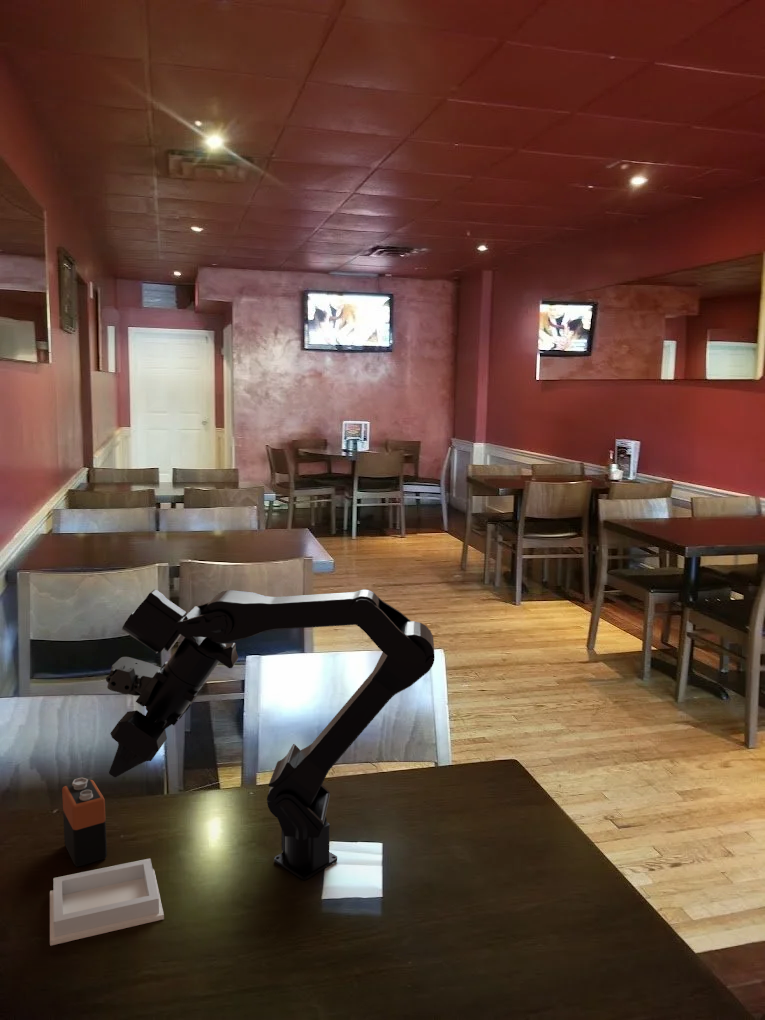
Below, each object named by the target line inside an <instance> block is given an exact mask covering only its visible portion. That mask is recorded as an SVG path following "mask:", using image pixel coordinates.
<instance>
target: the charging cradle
mask: <svg viewBox="0 0 765 1020" xmlns="http://www.w3.org/2000/svg"><path fill="white" fill-rule="evenodd" d="M52 881H53V886H52V887H53V890H49V945H50V946H51V947H52V946H55V945H58V944H64V943H68V942H71V941H75V940H79V939H85V938H89V937H93V936H97V935H102V934H106V933H109V932H114V931H118V930H123V929H126V928H132V927H136V926H139V925H144V924H149V923H154V922H157V921H161V920H165V914H164V909H163V905H162V901H161V895H160V890H159V885H158V881H157V877H156V872H155V868H153V865H152V859H151V858H146V859H145V858H144V859H141V860H136V861H131V862H130V861H129V862H125V863H120V864H115V865H112V866H106V867H102V868H101V867H100V868H97V869H91V870H86V871H81V872H77V873H72V874H67V875H63V876H58V877H53V880H52Z"/></svg>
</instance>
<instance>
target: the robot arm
mask: <svg viewBox="0 0 765 1020" xmlns="http://www.w3.org/2000/svg"><path fill="white" fill-rule="evenodd" d="M354 625H355V626H357V627H359V628H360V629H361V630H362V631H363V632H364V633H365V634H366V635H367V636H368V637H369V639H370V640H371V641H372V642H373V643H374V644H375V645H376V646H377V647H378V649H379V651H382V652H381V654H380V656H379V659H378V661H377V663H376V665H375V666H374V669H373V670H372V672H371V673H369V675H368V676H367V678H366V679H365V680H364V681H363V683H362V684H361V685H360V686H359V687H358V689H357V690H356V691H355V692H353V694H352V695H351V697H350V698H349V699H348V700H347V701H346V702H345V704H344V705H343V706H342V707H341V708H340V710H339V711H338V712H337V713H336V715H334V717H333V718H332V719H331V720H330V722H329V723H328V724H326V726H325V727H324V729H322V731H321V732H320V733H319V734H318V735H317V737H316V738H315V739H314V740H313V742H312V743H310V744H309V745H308V746H306V747H304V748H302V749H300V748H299V747H298V746H297V745H296V744H295V743H293V744H291V745H292V746H291V747H290V749H289V751H288V752H287V754H286V755H285V757H283V758H282V759H279V760H278V761H277V762H276V764H275V767H274V768H273V772H272V775H271V778H270V780H269V782H268V787H269V791H268V794H267V797H266V801H267V807H268V809H269V812H270V813H271V814H272V815H273V817H275V818H277V820H278V823H279V826H280V828H281V851H282V852H281V853H279V854H278V855H275V856H274V858H273V862H274V863H276V864H277V865H278V866H280V867H282V868H283V869H285V870H286V871H288V872H290V873H291V874H293V875H294V876H296V877H298V878H299V879H301V880H302V881H303V880H305V881H306V880H308V879H309V878H311V877H312V876H315V875H316V874H318V873H319V872H321V871H323V870H324V869H326V868H328V867H329V866H331V865H333V864H334V862H335V863H337V861H338V856H337V855H335V854H334V853H332V852H330V829H331V828H330V826H331V825H330V824H331V823H330V822H328V821H327V820H328V819H327V817H326V816H327V815H326V814H327V810H328V806H329V802H330V797H331V793H330V791H329V790H328V788H326V787H325V786H324V785H323V783H324V781H325V780H326V777H327V775H328V773H329V772H330V770H331V769H332V768H333V767H334V765H336V763H337V762H338V761H339V759H340V758H341V757H343V755H344V754H345V753H346V752H347V750H349V748H350V747H351V746H352V745H353V744H354V742H355V741H356V740H357V738H358V737H359V736H360V735H362V733H363V732H364V731H365V729H366V728H367V727H368V726H369V725H370V723H371V722H372V721H373V720H374V719H375V717H377V716H378V714H379V713H380V712H381V710H383V708H384V707H385V706H386V705H387V704H388V702H389V701H390V700H391V699H392V698H393V697H394V696H396V695H397V694H399V693H401V692H403V691H405V690H406V689H408V688H410V687H412V686H413V685H414V684H415V683H416V682H418V681H419V680H420V679H421V678H423V677H424V676H425V675H426V674H428V673H429V671H431V669H432V667H433V665H434V663H435V642H434V635H433V634H432V630H430V628H428V626H427V625H426V624H423V623H422V622H419V621H415V620H414V621H412V620H410V619H409V618H408V616H406V615H405V614H404V613H403V612H402V611H399V610H398V609H397V608H395V607H393V606H392V605H390V604H388V603H387V602H386V601H384V600H382V599H381V598H380V597H379V596H377V594H376V593H375V592H373V591H371V590H370V589H360V590H357V591H350V592H349V591H347V592H346V591H345V592H335V593H333V592H332V593H318V594H317V593H316V594H303V595H285V596H267V595H263V594H259V593H257V592H254V591H253V592H252V591H243V590H233V589H227V590H224V591H220V592H219V593H218V594H216V595H215V596H214V598H212V599H211V600H210V601H209V602H206V603H203V604H202V603H201V604H200V605H197V606H196V605H195V606H193V607H191V608H190V609H189V610H188V611H187V612H186V610H184V609H182V608H181V607H179V606H178V605H177V604H175V603H173V602H172V600H169V599H168V598H167V597H166V596H165V595H164V594H163V593H162V592H160V591H159V590H158V589H153V590H152V591H150V592H149V593H148V595H147V596H146V597H145V599H144V600H142V602H141V603H140V605H138V607H137V608H136V609H135V610H134V611H133V612H132V613H130V615H129V616H128V617H127V619H126V621H125V622H124V624H123V625H122V627H121V630H122V631H123V632H125V633H126V634H128V635H129V636H130V637H132V638H133V639H135V640H136V641H138V642H139V643H141V644H142V645H143V646H144V647H147V648H148V649H149V650H151V651H152V652H154V653H155V654H158V653H159V654H161V653H162V652H163V651H166V652H167V653H169V651H170V650H171V649H172V648H173V647H174V645H175V644H176V643H177V641H178V640H179V639H180V637H181V636H182V637H184V638H183V639H182V641H181V642H180V644H179V645H178V646H177V648H176V649H175V651H174V652H173V653H172V655H171V656H170V658H169V659H168V660H166V661H165V662H164V664H163V665H162V666H161V667H160V666H158V665H155V664H153V663H151V662H147V661H144V660H141V659H137V658H134V657H129V656H122V657H120V658H119V659H118V660H116V661H115V662H114V663H113V664H112V665H111V668H110V673H109V674H108V675H107V676H106V677H105V681H106V682H107V687H106V688H107V689H108V690H109V691H112V692H115V693H119V694H123V695H131V696H135V697H137V699H136V700H135V703H137V704H138V705H139V706H141V707H145V710H146V711H147V712H146V714H143V713H142V712H141V711H139V710H131V711H127V712H126V713H125V714H124V715H123V716H122V717H121V718H120V719H119V721H117V723H116V725H115V726H114V727H113V729H112V730H111V732H110V736H111V738H112V739H113V740H114V741H115V742H117V744H118V745H117V749H116V752H115V755H114V758H113V759H112V762H111V766H110V768H109V770H108V775H110V776H111V777H113V778H117V777H119V776H121V775H123V774H125V773H126V772H128V771H129V770H132V769H133V768H136V767H137V766H139V765H141V764H143V763H145V762H151V761H152V760H153V759H154V758H155V756H156V755H157V753H158V752H159V751H160V749H161V748H162V746H163V745H164V744H165V743H166V741H167V740H168V736H167V733H166V730H167V729H168V728H169V727H170V726H171V725H172V726H175V725H176V724H177V723H178V721H179V720H180V719H182V717H183V716H184V715H185V713H186V712H187V711H188V709H190V707H191V705H192V704H193V702H194V701H195V700H196V698H197V697H198V693H199V692H200V690H202V687H203V686H204V685H205V683H206V682H207V680H208V679H209V677H210V676H211V675H212V673H213V672H214V670H216V668H217V667H218V664H219V663H221V664H222V665H224V666H225V667H227V668H228V669H232V668H233V667H234V666H235V665H236V663H237V662H238V660H239V655H238V652H237V648H236V646H237V643H236V642H237V641H241V640H246V639H249V638H252V637H255V636H257V635H260V634H263V633H265V632H270V631H273V630H274V631H275V630H276V631H277V630H288V629H289V630H292V629H293V630H294V629H309V628H311V629H312V628H322V627H323V628H325V627H335V626H336V627H340V626H343V627H344V626H354ZM332 863H333V864H332Z"/></svg>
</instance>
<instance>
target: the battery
mask: <svg viewBox="0 0 765 1020" xmlns="http://www.w3.org/2000/svg"><path fill="white" fill-rule="evenodd" d="M61 793H62V796H61V797H62V798H61V799H62V814H63V819H62V820H63V832H64V833H63V836H64V838H63V840H64V846H65V847H66V848H65V849H66V850H67V852H68V854H69V856H70V858H71V860H72V863H73V864H74V866H75V867H76V868H79V867H82V866H85V865H89V864H92V863H95V862H96V863H97V862H98V861H101V860H102V861H103V860H105V859H106V858H107V855H108V849H107V847H108V846H107V845H108V844H107V825H106V824H107V821H106V818H107V817H106V800H105V798H104V795H103V794H102V792H101V791H100V789H99V788H98V786H97V784H96V783H95V781H94V780H92V779H88V778H85V777H79V778H75V779H73V781H72V783H71V784H68V785H64V786H63V787H62V789H61Z"/></svg>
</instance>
